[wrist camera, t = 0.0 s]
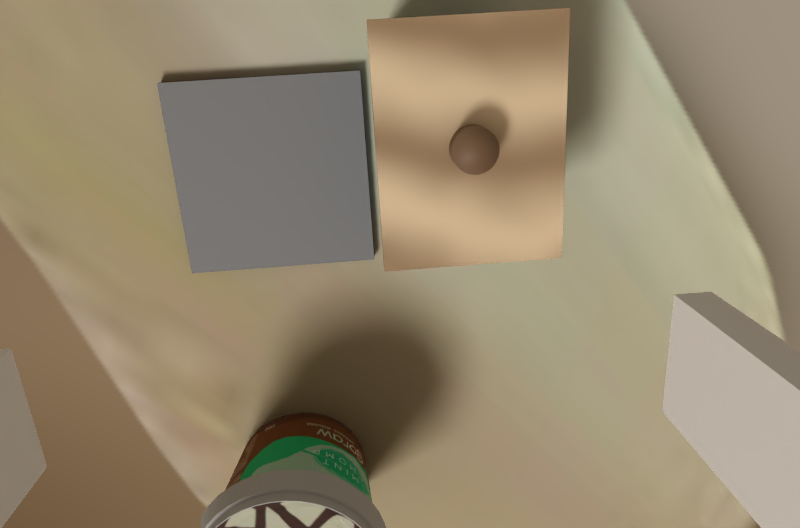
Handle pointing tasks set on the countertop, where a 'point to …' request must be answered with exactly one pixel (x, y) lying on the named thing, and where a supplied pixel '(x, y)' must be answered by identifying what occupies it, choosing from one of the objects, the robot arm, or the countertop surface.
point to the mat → (270, 169)
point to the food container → (297, 479)
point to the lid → (470, 136)
